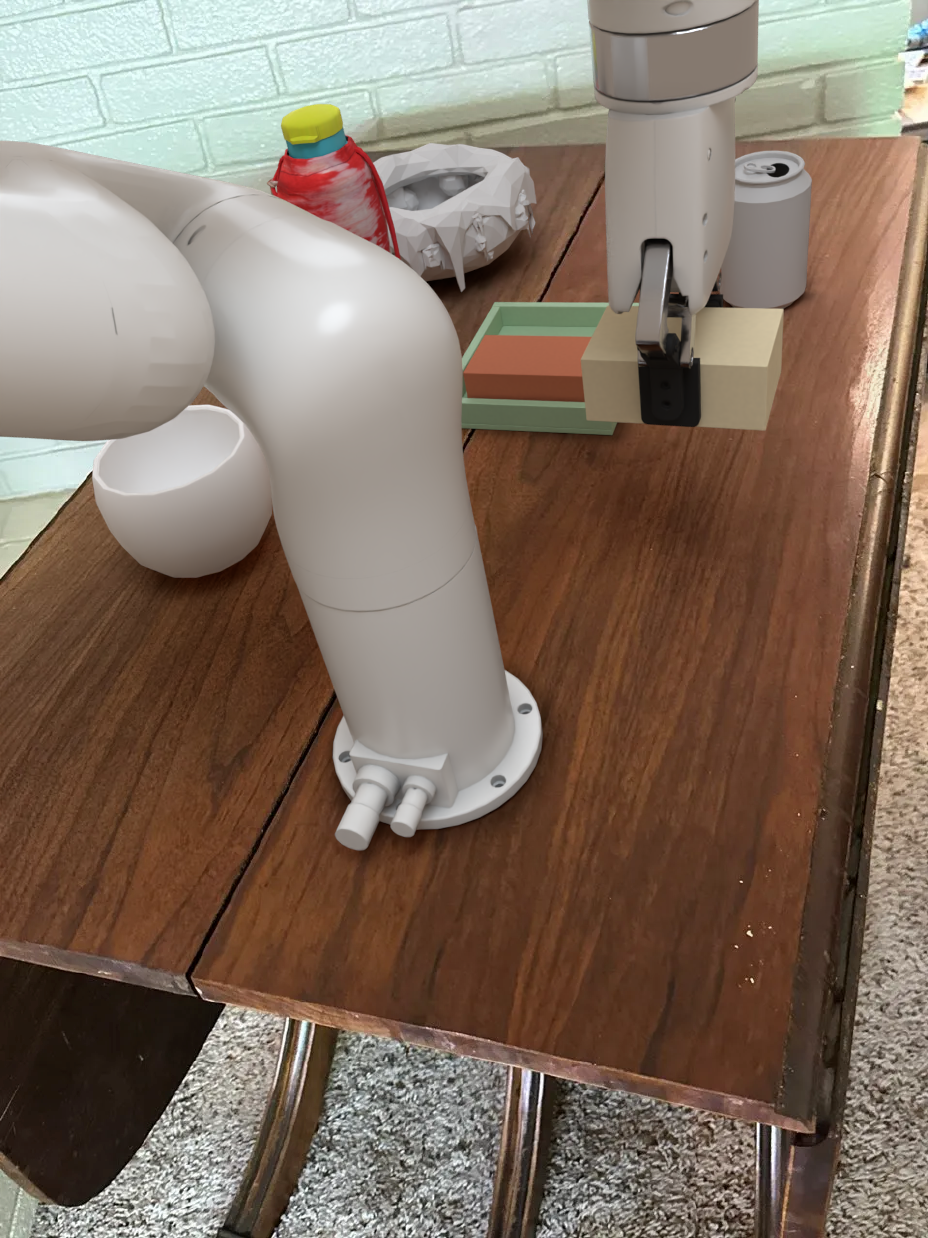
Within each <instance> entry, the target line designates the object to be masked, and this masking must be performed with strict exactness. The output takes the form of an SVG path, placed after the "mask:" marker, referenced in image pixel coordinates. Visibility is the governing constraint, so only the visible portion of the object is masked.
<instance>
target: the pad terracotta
mask: <svg viewBox="0 0 928 1238" xmlns="http://www.w3.org/2000/svg"><path fill="white" fill-rule="evenodd" d="M591 338H592V337H578V336H514V335H485V336H484V338H483V339H482V341H481V343H480V344H479V346H478V348H477V350H476V351H475V353H474V355H473V357H472V358H471V360H470V362H469V364H468V365H467V367H466V369H465V370H464V372H463V376H464V381H465V386H466V392H467V397H468V398H481V399H508V400H536V401H563V402H585V399H584V389H583V379H582V369H581V358H582V356H583V354H584V352H585V350H586V348H587V346H588V344H589V342H590V340H591Z"/></svg>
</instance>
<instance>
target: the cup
mask: <svg viewBox="0 0 928 1238" xmlns="http://www.w3.org/2000/svg"><path fill="white" fill-rule="evenodd" d="M91 481H92V487H93V494H94V500H95V504H96V506H97V508H98V510H99V512H100V515H101V517H102V518H103V520H104V522H105V524H106V527H107V529H108V530H109V532H110V533H111V534H112V536H113V537H114V539H116V541H117V542H118V544H119V545H120V546H121V547H122V548H123V549H124V550H125V551H126V552H127V553H128V554H129V555H130V556H131V557H132V558H133V559H134V560H135V561H136V562H137V563H138V564H139V565H140V566H141V567H145V568H147V569H150V570H152V571H155V572H158V573H160V574H163V575H166V576H168V577H171V578H179V579H180V578H181V579H185V578H186V579H187V578H189V579H190V578H191V579H196V578H200V577H204V576H209V575H213V574H217V573H221V572H223V571H225V570H226V569H229V568H231V567H232V566H233V565H235V564H237V563H239V562H241V561H242V560H244V559H245V558H246V557H247V556H248V555H249V554H250V553H251V552H252V551H253V550H254V549H256V547H257V546H259V544H260V541H261V540H262V537H263V535H264V533H265V531H266V528H267V526H268V524H269V521H270V520H271V517H272V515H273V506H272V494H271V483H270V476H269V470H268V466H267V463H266V460H265V457H264V455H263V453H262V451H261V449H260V447H259V445H258V443H257V441H256V440H255V438H254V437H253V435H252V433H251V432H250V431H249V429H248V428H247V427H246V425H245V424H244V423H243V422H242V421H241V420H240V419H239V418H238V417H237V416H236V415H235V414H234V413H232V412H231V411H230V410H229V409H228V408H226V407H220V406H216V405H212V404H193V405H192V404H190V405H189V406H188V407H187V408H186V409H184V410H183V411H182V412H181V413H180V414H179V415H178V416H177V417H176V418H174V419H173V420H171V421H169V422H167V423H165V424H163V425H161V426H159V427H157V428H155V429H153V430H151V431H149V432H145V433H142V434H138V435H134V436H131V437H127V438H123V439H113V440H106V442H105V443H104V444H103V446H102V447H101V449H100V450H99V452H98V453H97V454H96V456H95V458H94V459H93V462H92V474H91Z"/></svg>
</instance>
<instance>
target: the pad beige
mask: <svg viewBox="0 0 928 1238" xmlns="http://www.w3.org/2000/svg"><path fill="white" fill-rule="evenodd" d="M638 308H639V306H632V307H631V309H630V311H629V312H623V313H622V314H616V313H614V312H613V310H612V309H611V308H610V306H607V307H606V309H605V311H604V313H603V315H602V317H601V319H600V321H599V323H598V325H597V328H596V330H595V332H594V334H593V336H592V338H591V340H590V342H589V344H588V346H587V348H586V350H585V352H584V354H583V356H582V358H581V369H582V379H583V389H584V399H585V408H586V418H587V421H605V422H617V423H624V424H641V425H646V424H645V423H644V422H643V421H642V419H641V406H640V390H639V373H638V361H637V355H638V350H637V346H636V342H635V333H636V325H637V317H638ZM784 309H785V308H784ZM784 309H766V308H734V307H723V308H712V307H703V308H702V309H701V310H700V311H699V312H698V313H696V327H695V345H694V358H700V379H701V419H700V422H699V424H698V425H697V426H696V428H711V429H728V430H729V429H730V430H746V431H747V430H748V431H761V432H762V431H766V430H767V427H768V423H769V418H770V416H771V412H772V407H773V403H774V400H775V396H776V393H777V389H778V384H779V382H780V377H781V373H782V363H783V361H782V360H783V340H784V339H783V338H784V337H783V334H784V312H785V310H784ZM681 323H682V318H671V317H667V327H668V329H669V333H676V335H677V336H678V338H679V340H680V341H681Z"/></svg>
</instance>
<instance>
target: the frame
mask: <svg viewBox="0 0 928 1238" xmlns="http://www.w3.org/2000/svg"><path fill="white" fill-rule="evenodd" d="M607 306H609V302H567V301H565V302H561V301H559V302H558V301H557V302H556V301H552V302H551V301H548V302H547V301H546V302H545V301H543V302H541V301H537V302H536V301H528V302H526V301H494V302H493V304H492V305H491V308H490V310H489V311H488V313H487V315H486V317H485V318H484V320H483V321H482V323H481V325H480V327H479V328H478V330H477V331H476V333H475V335H474V336H473V338H472V340H471V342H470V343H469V345H468V347H467V348H466V350H465V351H464V354H463V355H462V369H463V372H464V370H465V369H466V367H467V365H468V364H469V362H470V360H471V358H472V357H473V355H474V353H475V351H476V350H477V348H478V346H479V344H480V343H481V341H482V339H483V338H484V336H485V335H514V336H578V337H592V336H593V334H594V332H595V330H596V328H597V325H598V323H599V321H600V319H601V317H602V315H603V313H604V311H605V309H606V307H607ZM632 306H639V302H633V304H632ZM461 422H462V429H473V430H494V431H511V432H513V431H514V432H534V433H536V432H537V433H553V434H554V433H557V434H578V435H579V434H580V435H581V434H582V435H601V436H613V435H614V432H615V429H616V427H617V424H618V422H605V421H587V418H586V408H585V402H563V401H536V400H508V399H481V398H468V397H467V392H466V386H465V381H464V376H463V387H462V418H461Z"/></svg>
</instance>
